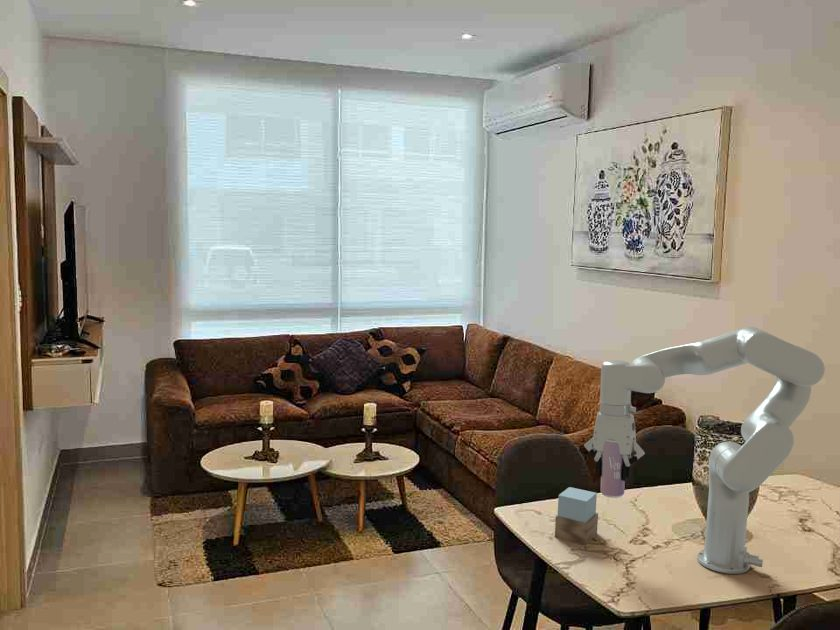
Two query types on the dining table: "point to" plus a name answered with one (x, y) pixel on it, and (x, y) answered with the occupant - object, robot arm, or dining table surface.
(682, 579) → the dining table surface
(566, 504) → the top block
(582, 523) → the base block
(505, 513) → the dining table surface
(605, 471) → the beverage can
